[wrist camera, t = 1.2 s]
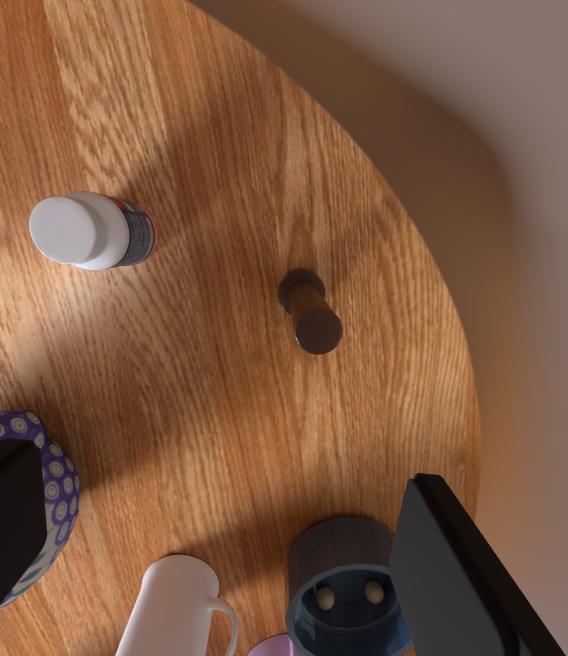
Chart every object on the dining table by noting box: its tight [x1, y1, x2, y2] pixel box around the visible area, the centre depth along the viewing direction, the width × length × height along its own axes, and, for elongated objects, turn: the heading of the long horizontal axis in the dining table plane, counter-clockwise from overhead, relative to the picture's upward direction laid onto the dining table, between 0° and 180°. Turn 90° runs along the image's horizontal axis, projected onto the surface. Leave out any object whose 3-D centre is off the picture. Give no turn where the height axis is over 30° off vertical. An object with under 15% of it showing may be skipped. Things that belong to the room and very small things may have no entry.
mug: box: [115, 555, 238, 656], centre depth 33 cm, size 12×8×12 cm
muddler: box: [278, 269, 343, 355], centre depth 24 cm, size 4×4×14 cm
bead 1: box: [316, 587, 334, 610], centre depth 37 cm, size 2×2×2 cm
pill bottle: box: [29, 191, 157, 270], centre depth 25 cm, size 5×5×9 cm
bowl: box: [284, 517, 413, 656], centre depth 35 cm, size 13×13×6 cm
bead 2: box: [365, 581, 384, 604], centre depth 37 cm, size 2×2×2 cm
